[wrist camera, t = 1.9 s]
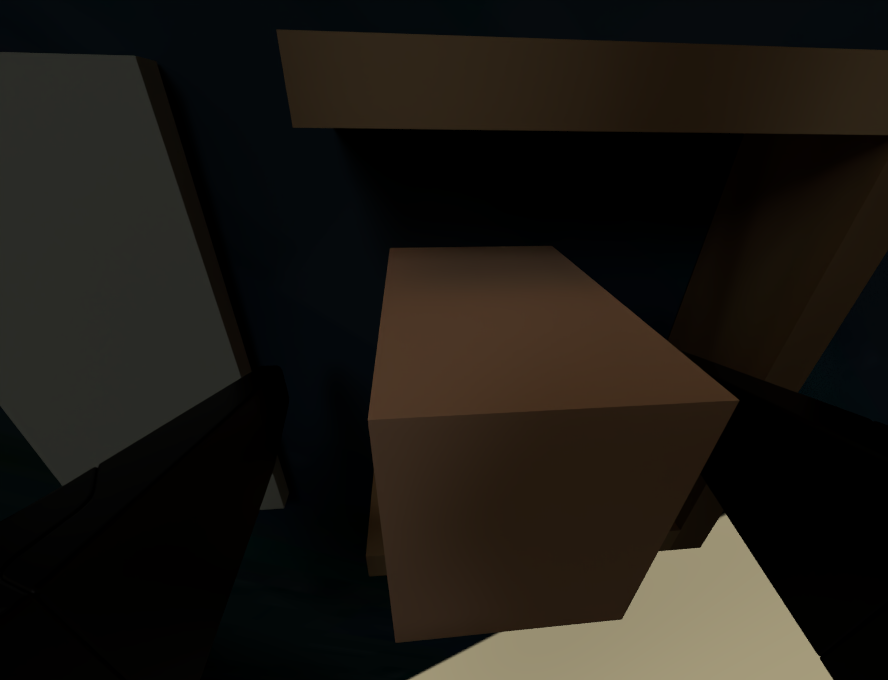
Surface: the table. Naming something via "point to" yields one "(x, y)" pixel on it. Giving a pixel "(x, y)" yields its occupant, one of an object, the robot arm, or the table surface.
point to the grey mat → (104, 263)
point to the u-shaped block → (663, 110)
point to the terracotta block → (525, 441)
